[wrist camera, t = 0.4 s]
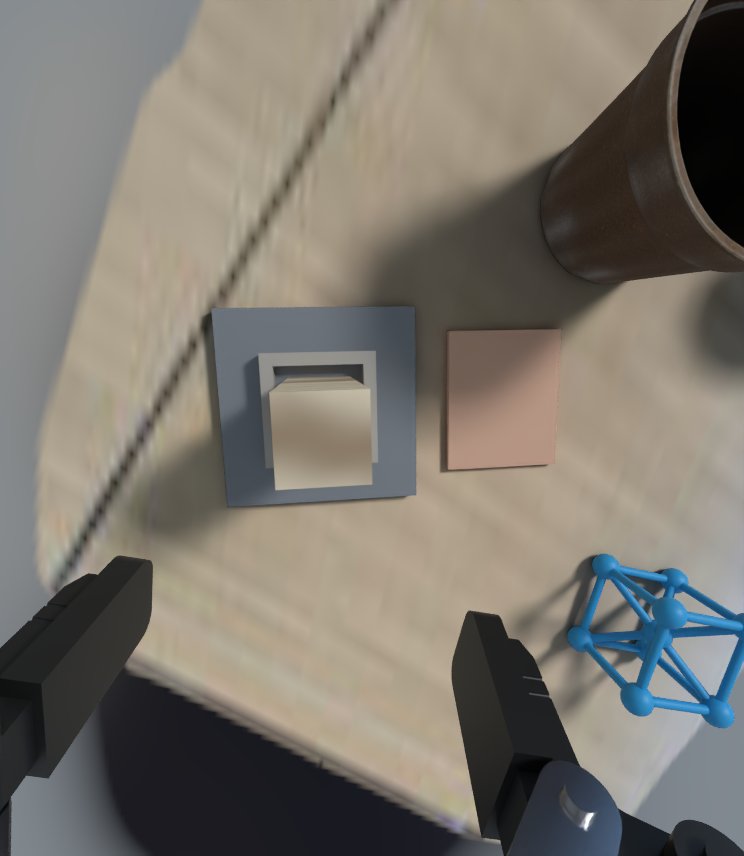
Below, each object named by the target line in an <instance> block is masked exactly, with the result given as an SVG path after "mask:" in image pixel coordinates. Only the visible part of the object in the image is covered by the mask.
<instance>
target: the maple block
mask: <svg viewBox="0 0 744 856" xmlns="http://www.w3.org/2000/svg"><path fill="white" fill-rule="evenodd" d="M269 396H270V412H271V428H272V444H273V460H274V476H275V490H288V489H304V488H321V487H338V486H355V485H372V442H371V400H370V389H369V388H368V387H366V386H365V385H363V384H361V383H360V382H358V381H357V380H355V379H353V378H352V377H350V376H341V377H306V378H287V379H286V380H285V381H283V382H282V383H281V384H279V385H278V386H277V387H276V388H274V389H273V390H272V391H270V392H269Z"/></svg>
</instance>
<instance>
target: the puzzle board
mask: <svg viewBox="0 0 744 856" xmlns="http://www.w3.org/2000/svg"><path fill="white" fill-rule="evenodd" d="M211 311H212V324H213V336H214V348H215V360H216V372H217V385H218V397H219V409H220V421H221V433H222V446H223V458H224V470H225V482H226V494H227V507H236V506H252V505H267V504H283V503H299V502H315V501H331V500H347V499H363V498H379V497H395V496H410V495H416V382H415V306H392V307H296V308H211ZM341 376H350V377H352V378H353V379H355V380H357V381H358V382H360V383H361V384H363V385H365V386H366V387H368V388H369V389H370V400H371V442H372V485H355V486H338V487H321V488H304V489H288V490H275V476H274V460H273V444H272V428H271V412H270V396H269V392H270V391H272V390H273V389H274V388H276V387H277V386H278V385H279V384H281V383H282V382H283V381H285V380H286V379H287V378H306V377H341Z"/></svg>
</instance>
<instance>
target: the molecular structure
mask: <svg viewBox="0 0 744 856" xmlns="http://www.w3.org/2000/svg"><path fill="white" fill-rule="evenodd" d="M592 568H593V571H594V572H595V574H596V575H597V576H598V577H597V580H596V583H595V585H594V588H593V591H592V594H591V597H590V600H589V603H588V605H587V608H586V611H585V614H584V617H583V620H582V623H581V626H574V627H572V628H571V629H570V630H569V631H568V641H569V643H570V645H571V646H572V647H573V648H574V649H575V650H577V651H580V652H586V651H587V652H588V653H589V654H590V655H591V656H592V657H593V658H594V659H595V661H596V662H597V663H598V664H599V665H600V666H601V667H602V668H603V669H604V670H605V671H606V673H607V674H608V675H609V676H610V677H611V678H612V679H613V680H614V681H615V682H616V683H617V685H618V686H619V687H620V688H621V693H620V696H621V701H622V703H623V705H624V707H625V708H626V709H627V710H628V711H629V712H631V713H632V714H634V715H637V716H647V715H649V714H650V713H651V712H652V710H653V708H654V707H658V708H664V709H671V710H677V711H684V712H691V713H697V714H701V715H702V717H703V718H704V719H705V720H706V721H707V722H708V723H709V724H711V725H713V726H715V727H718V728H727V727H729V726H731V725H732V724H733V722H734V713H733V710H732V708H731V707H730V705H729V704H728V703H727V700H728V697H729V695H730V693H731V690H732V687H733V685H734V683H735V680H736V678H737V675H738V673H739V670H740V668H741V666H742V663H743V661H744V613H740V614H738V615H736V614H734V613H732V612H731V611H729V610H728V609H726V608H724V607H723V606H721V605H719V604H718V603H716V602H715V601H713V600H711V599H710V598H708V597H707V596H705V595H703V594H702V593H700V592H698V591H697V590H695V589H694V588H692V587H690V586H689V585H688V579H687V577H686V575H685V574H684V573H683V572H681V571H680V570H678V569H674V568H669V569H666V570H664V571H663V572H662V573H661V574H658V573H653V572H648V571H644V570H639V569H634V568H629V567H624V566H620V565H619V563H618V561H617V560H616V559H615V558H614V557H612V556H611V555H608V554H600V555H598V556H596V557H595V558H594V560H593V562H592ZM623 574H625V575H630V576H635V577H640V578H644V579H649V580H654V581H659V582H661V585H662V586H663V587H664V588H665V589H666V590H665V593H664V595H663V597H662V598H659V599H657V598H656V597H654V596H653V595H651V594H650V593H649V592H647V591H646V590H644V589H643V588H642V587H640V586H639V585H637V584H636V583H635V582H633V581H632V580H630V579H629V578H628V577H626V576H625V575H623ZM606 579H611V581H612V582H613V583H614V585H615V586H616V587H617V588H618V590H619V591H620V592H621V594H622V595H623V596H624V598H625V599H626V600H627V602H628V603H629V604H630V606H631V607H632V608H633V610H634V611H635V612H636V614H637V615H638V616H639V618H640V619H641V620H642V621H643V623H644V625H643V628H642V631H626V632H611V633H596V634H591V632H590V631H589V630H588V629H589V626H590V623H591V621H592V618H593V615H594V612H595V609H596V606H597V604H598V601H599V598H600V595H601V592H602V589H603V586H604V584H605V581H606ZM628 588H629V589H630V590H631V591H633V592H634V593H636V594H637V595H638V596H640V597H641V598H642V599H644V600H645V601H646V602H648V603H649V604H650V605H652V614H653V616H654V618H655V620H651V618H650V617H649V616H648V614H647V613H646V612H645V611H644V609H643V608H642V607H641V605H640V604H639V603H638V601H637V600H636V599H635V598H634V596H633V595H632V594H631V592H630V591H629V590H628ZM681 592H685V593H687V594H689V595H690V596H692V597H693V598H695V599H696V600H698V601H699V602H701V603H703V604H704V605H706V606H707V607H709V608H710V609H712V610H713V611H715V612H717V613H718V614H720V615H721V616H723V617H724V618H726V619H723V618H718V617H713V616H707V615H702V614H697V613H692V612H687V611H686V609H685V607H684V606H683V605H682V604H681V603H680V602H679V601H677V600H676V599H673V598H674V595H675V593H681ZM687 621H688V622H693V623H699V624H704V625H709V626H703V627H688V628H681V627H683V626H684V625H685V624H686V622H687ZM732 634H735V635H736V636H737V637H738V638H739V640H738V642H737V645H736V647H735V650H734V652H733V655H732V657H731V660H730V662H729V665H728V667H727V670H726V672H725V675H724V677H723V680H722V682H721V685H720V687H719V690H718V692H717V695H716V696H714V695H709V694H708V693H707V691H706V690H705V689H704V687H703V686H702V685H701V683H700V682H699V681H698V680H697V678H696V677H695V676H694V674H693V673H692V672H691V670H690V669H689V668H688V667H687V665H686V664H685V663H684V661H683V660H682V659H681V657H680V656H679V655H678V654H677V652H676V651H675V650H674V648H673V647H672V646H671V643H672V641H673V638H678V637H696V636H714V635H732ZM623 640H637V641H636V643H635V644H631V643H625V642H619V641H623ZM593 645H596V646H602V647H608V648H614V649H620V650H625V651H631V652H635V653H636V655H637V656H638V657H639V658H640V659H641V660H642V661H643V663H642V667H641V670H640V673H639V676H638V679H637V682H636V683H627V682H626V681H625V680H624V678H623V677H622V676H621V675H620V674H619V673H618V672H617V671H616V670H615V669H614V668H613V667H612V666H611V665H610V664H609V663H608V662H607V661H606V660H605V658H604V657H603V656H602V655H601V654H600V653H599V652H598V651H597V650H596V649H595V648H594V647H593ZM662 648H663V649H664V650H665V652H666V653H667V654H668V656H669V657H670V658H671V660H672V661H673V662H674V664H675V665H676V666H677V668H678V669H679V670H680V672H681V673H682V674H683V676H684V677H685V678H686V679H687V680H686V679H685V678H684V677H683V676H682V675H681V674H680V673H679V672H677V671H676V670H675V669H674V668H673V667H672V666H671V665H669V664H668V663H667V662H666V661H665V660H664V659H663V658H661V656H662ZM656 664H658V665H659V666H660V667H661V668H662V669H664V670H665V671H666V672H667V673H668V674H669V675H670V676H671V677H672V678H673V679H675V680H676V681H677V682H678V683H679V684H680V685H681V686H682V687H683V688H684V689H686V690H687V691H688V692H689V693H690V694H691V695H692V696H693V697H694V698H696V699H697V700H698V701H699V702H700V703H699V704H698V703H691V702H685V701H678V700H672V699H665V698H659V697H653V696H652V695H651V693H650V692H649V691H648V689H647V688H648V685H649V682H650V680H651V677H652V674H653V672H654V669H655V667H656Z"/></svg>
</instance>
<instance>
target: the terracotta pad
mask: <svg viewBox="0 0 744 856" xmlns="http://www.w3.org/2000/svg"><path fill="white" fill-rule="evenodd" d="M560 348H561V329H538V330H481V331H447V444H446V468H447V469H448V470H455V469H473V468H491V467H509V466H526V465H544V464H555V452H556V431H557V410H558V389H559V369H560Z"/></svg>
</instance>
